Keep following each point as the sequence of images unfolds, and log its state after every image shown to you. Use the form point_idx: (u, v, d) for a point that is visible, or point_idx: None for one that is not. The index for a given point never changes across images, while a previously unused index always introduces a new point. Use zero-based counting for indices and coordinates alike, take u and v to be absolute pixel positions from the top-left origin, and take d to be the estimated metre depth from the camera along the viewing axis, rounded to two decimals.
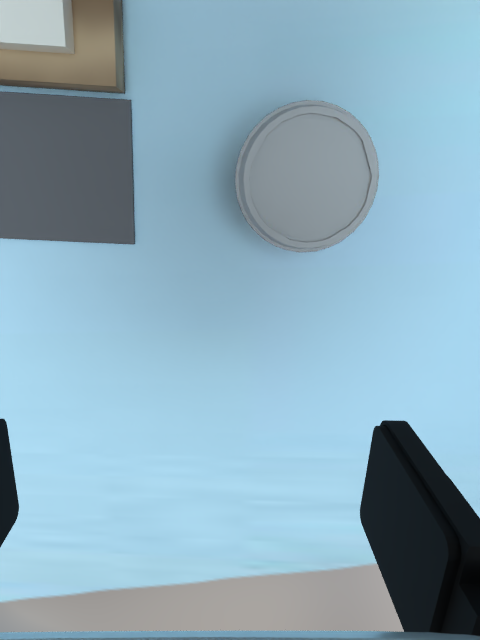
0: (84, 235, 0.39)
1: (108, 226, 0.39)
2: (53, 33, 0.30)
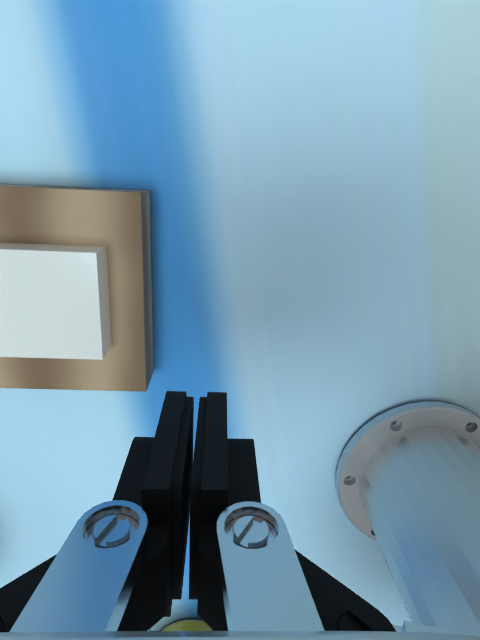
0: None
1: None
2: None
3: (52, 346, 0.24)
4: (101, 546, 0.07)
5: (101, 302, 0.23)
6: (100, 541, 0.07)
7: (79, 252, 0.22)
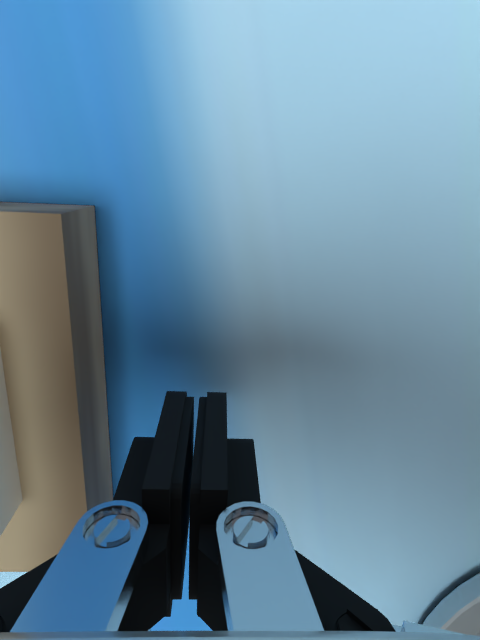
0: None
1: None
2: None
3: None
4: (101, 546, 0.07)
5: None
6: (100, 541, 0.07)
7: None
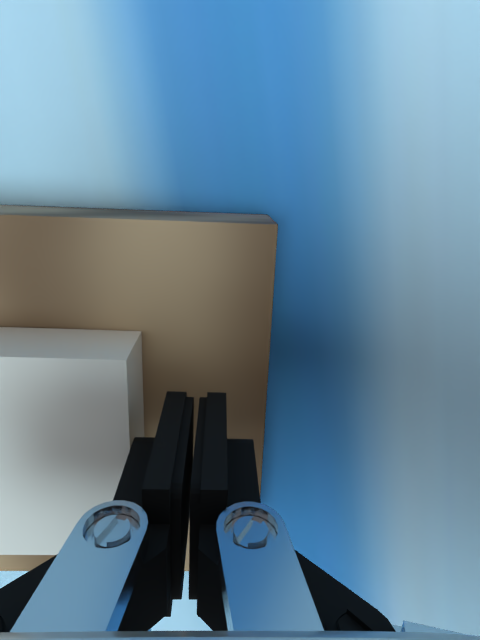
0: None
1: None
2: None
3: (33, 534, 0.12)
4: (101, 546, 0.07)
5: None
6: (100, 541, 0.07)
7: (89, 358, 0.10)
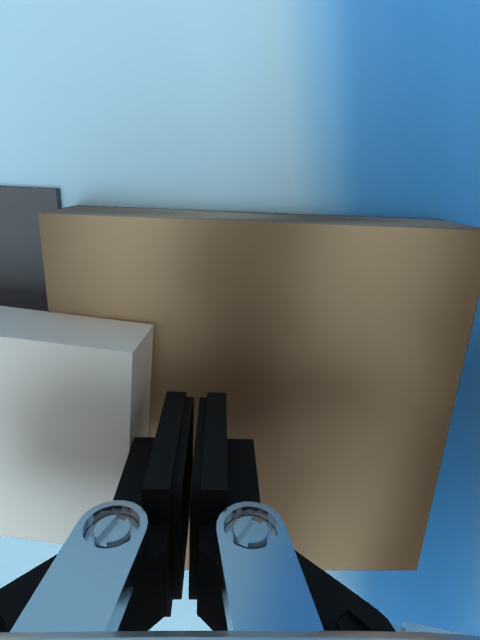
0: None
1: None
2: None
3: (28, 519, 0.12)
4: (101, 546, 0.07)
5: None
6: (100, 541, 0.07)
7: (96, 347, 0.10)
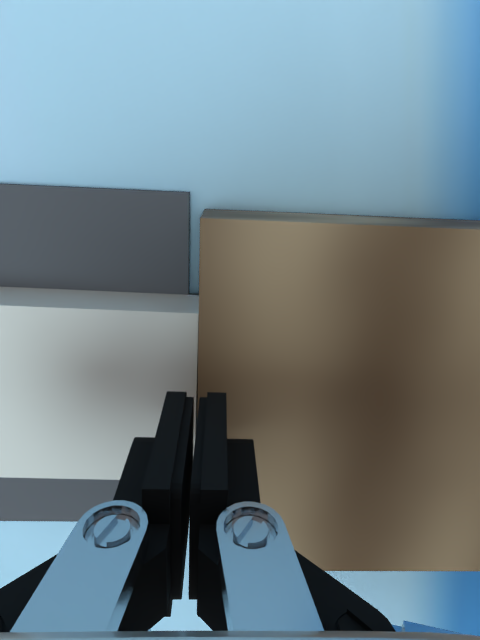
0: None
1: None
2: None
3: (112, 462, 0.14)
4: (101, 546, 0.07)
5: (197, 390, 0.14)
6: (100, 541, 0.07)
7: (169, 312, 0.13)
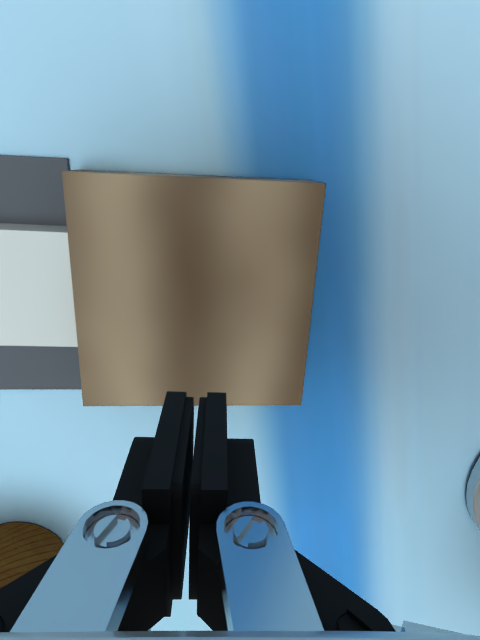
0: None
1: None
2: None
3: (24, 333, 0.22)
4: (101, 546, 0.07)
5: None
6: (100, 541, 0.07)
7: (52, 232, 0.21)
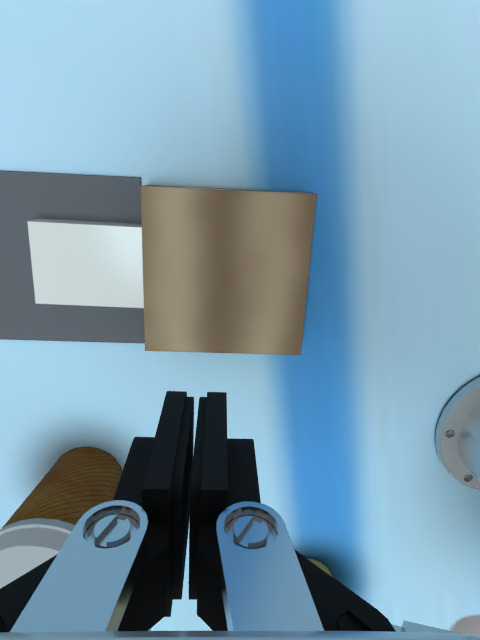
0: None
1: (11, 313, 0.34)
2: (45, 294, 0.32)
3: (107, 297, 0.32)
4: (101, 546, 0.07)
5: None
6: (100, 541, 0.07)
7: (130, 227, 0.30)
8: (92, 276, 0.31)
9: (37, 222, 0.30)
